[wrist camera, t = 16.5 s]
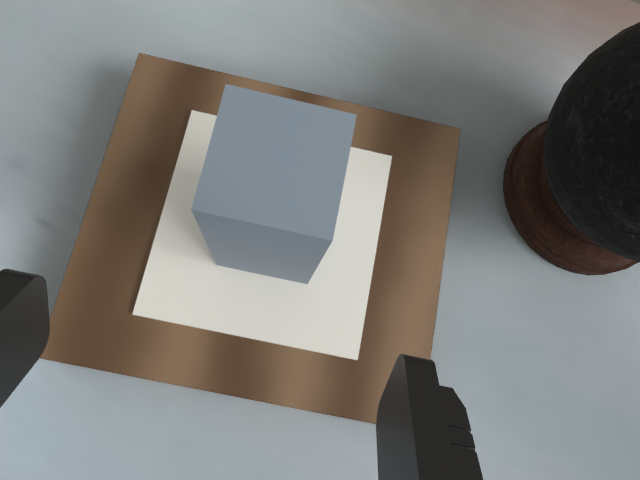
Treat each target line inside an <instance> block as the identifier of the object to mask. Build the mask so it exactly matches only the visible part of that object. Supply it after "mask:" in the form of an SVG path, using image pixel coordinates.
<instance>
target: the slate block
mask: <svg viewBox="0 0 640 480" xmlns="http://www.w3.org/2000/svg"><path fill="white" fill-rule="evenodd" d="M356 117H357V114H352V113H348V112H344V111H340V110H335V109H331V108H327V107H322V106H318V105H314V104H310V103H305V102H301V101H297V100H293V99H288V98H284V97H280V96H275V95H271V94H267V93H263V92H258V91H254V90H250V89H245V88H241V87H237V86H233V85H228V84H226V85H225V88H224V92H223V96H222V99H221V103H220V107H219V110H218V114H217V118H216V121H215V125H214V128H213V132H212V136H211V139H210V143H209V147H208V150H207V154H206V158H205V161H204V165H203V168H202V172H201V176H200V179H199V183H198V187H197V190H196V194H195V198H194V201H193V205H192V208H191V211H192V213H193V215H194V217H195V219H196V221H197V224H198V226H199V228H200V230H201V232H202V234H203V237H204V239H205V241H206V243H207V245H208V247H209V249H210V252H211V254H212V256H213V258H214V260H215V262H216V265H218V266H223V267H228V268H232V269H237V270H242V271H247V272H251V273H256V274H261V275H266V276H270V277H275V278H280V279H284V280H289V281H294V282H299V283H303V284H308V283H309V281H310V279H311V277H312V276H313V274H314V272H315V270H316V269H317V267H318V265H319V263H320V262H321V260H322V258H323V257H324V255H325V253H326V251H327V250H328V248H329V246H330V244H331V243H332V241H333V237H334V231H335V226H336V221H337V216H338V211H339V205H340V200H341V195H342V190H343V185H344V179H345V174H346V169H347V164H348V159H349V153H350V148H351V143H352V138H353V133H354V127H355V122H356Z"/></svg>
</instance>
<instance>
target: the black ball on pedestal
mask: <svg viewBox="0 0 640 480" xmlns="http://www.w3.org/2000/svg"><path fill="white" fill-rule="evenodd" d="M503 191H504V197H505V204H506V207H507V210H508V212H509V215H510V218H511V220H512V222H513V224H514V226H515V227H516V229H517V231H518V233H519V234H520V236H521V237H522V238H523V239H524V240H525V242H526V243H527V244H528V245H529V247H530V248H532V249H533V250H534V251H535V252H536V253H537V254H539V255H540V256H541V257H542V258H543V259H545V260H547V261H548V262H550V263H552V264H553V265H555V266H557V267H559V268H562V269H565V270H567V271H570V272H573V273H578V274H585V275H604V274H608V273H612V272H616V271H620V270H623V269H627V268H629V267H630V266H632V265H634V264H636V263H638V262H640V22H639V23H637V24H635V25H633V26H630V27H628V28H626V29H624V30H622V31H621V32H619V33H618V34H617V35H615V36H614V37H612V38H611V39H610V40H608V41H607V42H606V43H604V44H603V45H602V46H600V47H599V48H598V49H596V50H595V51H594V52H592V53H591V54H590V55H589V56H588V57H587V58H586V59H585V60H584V61H583V63H582V64H581V65H580V66H579V67H578V68H577V70H576V71H575V72H574V73H573V74H572V75H571V77H570V78H569V79H568V80H567V81H566V83H565V84H564V85H563V87H562V89H561V91H560V93H559V95H558V97H557V99H556V101H555V103H554V106H553V108H552V110H551V112H550V114H549V117H548V120H547V121H545V122H543V123H540V124H539V125H537V126H536V127H535V128H533V129H532V130H530V131H529V132H528V133H527V134H526V135H524V136H523V137H522V138H521V140H520V141H519V142H518V143H517V144H516V145H515V147H514V148H513V150H512V152H511V154H510V156H509V158H508V160H507V164H506V167H505V171H504V182H503Z"/></svg>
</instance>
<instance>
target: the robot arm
mask: <svg viewBox="0 0 640 480" xmlns="http://www.w3.org/2000/svg"><path fill="white" fill-rule="evenodd" d="M49 333H50V324H49V310H48V297H47V285H46V280H45V278H44V277H42V276H39V275H34V274H29V273H25V272H20V271H15V270H11V269H4V270H2V271H0V407H1V406H2V405H3V404H4V402H5V401H6V400H7V399H8V397H9V396H10V395H11V393H12V392H13V391H14V390H15V388H16V387H17V386H18V385H19V383H20V382H21V381H22V379H23V378H24V377H25V376H26V374H27V373H28V372H29V370H30V369H31V368H32V367H33V365H34V364H35V363H36V362H37V360H38V359H39V358H40V356H41V355H42V353H43V351H44V349H45V347H46V345H47V342H48V338H49ZM470 431H471V428H470V424H469V420H468V416H467V412H466V408H465V407H464V405H463V404H462V402H461V401H460V399H459V397H458V396H457V394H456V393H455V391H454V390H453V388H449V387H444V386H440V385H439V382H438V377H437V372H436V367H435V363H434V362H433V361H432V360H429V359H424V358H419V357H415V356H410V355H405V354H400V355H399V356H398V357H397V360H396V362H395V364H394V367H393V369H392V372H391V374H390V377H389V379H388V381H387V384H386V386H385V389H384V391H383V394H382V396H381V399H380V402H379V406H378V411H377V419H376V434H377V456H378V479H379V480H483V477H482V473H481V469H480V465H479V461H478V457H477V453H476V452H475V444H474V440H473V436H472V434H471V433H470Z"/></svg>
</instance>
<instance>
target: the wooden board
mask: <svg viewBox="0 0 640 480" xmlns="http://www.w3.org/2000/svg"><path fill="white" fill-rule="evenodd" d="M226 84H228V85H233V86H237V87H241V88H245V89H250V90H254V91H258V92H263V93H267V94H271V95H275V96H280V97H284V98H288V99H293V100H297V101H301V102H305V103H310V104H314V105H318V106H322V107H327V108H331V109H335V110H340V111H344V112H348V113H352V114H357V117H356V122H355V127H354V133H353V138H352V143H351V148H350V153H349V159H348V164H347V169H346V174H345V179H344V185H343V190H342V195H341V200H340V205H339V211H338V216H337V221H336V226H335V231H334V237H333V241H332V243H331V244H330V246H329V248H328V250H327V251H326V253H325V255H324V257H323V258H322V260H321V262H320V263H319V265H318V267H317V269H316V270H315V272H314V274H313V276H312V277H311V279H310V281H309V283H308V284H303V283H299V282H294V281H289V280H284V279H280V278H275V277H270V276H266V275H261V274H256V273H251V272H247V271H242V270H237V269H232V268H228V267H223V266H218V265H216V262H215V260H214V258H213V256H212V254H211V252H210V249H209V247H208V245H207V243H206V241H205V239H204V237H203V234H202V232H201V230H200V228H199V226H198V224H197V221H196V219H195V217H194V215H193V213H192V211H191V208H192V205H193V201H194V198H195V194H196V190H197V187H198V183H199V179H200V176H201V172H202V168H203V165H204V161H205V158H206V154H207V150H208V147H209V143H210V139H211V136H212V132H213V128H214V125H215V121H216V118H217V114H218V110H219V107H220V103H221V99H222V96H223V92H224V88H225V85H226ZM459 137H460V129H459V128H455V127H451V126H447V125H442V124H438V123H434V122H430V121H425V120H421V119H417V118H413V117H408V116H404V115H400V114H396V113H391V112H387V111H383V110H379V109H375V108H370V107H366V106H362V105H358V104H353V103H349V102H345V101H341V100H336V99H332V98H328V97H324V96H319V95H315V94H311V93H307V92H302V91H298V90H294V89H290V88H285V87H281V86H277V85H273V84H269V83H264V82H260V81H256V80H252V79H247V78H243V77H239V76H235V75H230V74H226V73H222V72H218V71H213V70H209V69H205V68H201V67H196V66H192V65H188V64H184V63H180V62H175V61H171V60H167V59H163V58H158V57H154V56H150V55H146V54H141V53H139V54H138V57H137V60H136V63H135V66H134V69H133V72H132V75H131V78H130V81H129V84H128V87H127V90H126V93H125V96H124V99H123V102H122V105H121V108H120V111H119V114H118V117H117V120H116V123H115V126H114V129H113V132H112V135H111V138H110V141H109V144H108V147H107V150H106V153H105V156H104V159H103V162H102V165H101V168H100V171H99V174H98V177H97V180H96V183H95V186H94V189H93V192H92V195H91V198H90V201H89V204H88V207H87V210H86V213H85V216H84V219H83V222H82V225H81V228H80V231H79V234H78V237H77V240H76V243H75V246H74V249H73V252H72V255H71V258H70V261H69V264H68V267H67V270H66V272H65V275H64V278H63V281H62V284H61V287H60V290H59V293H58V296H57V299H56V302H55V305H54V308H53V311H52V314H51V317H50V320H49V324H50V333H49V338H48V342H47V345H46V347H45V349H44V351H43V353H42V355H41V356H40V358H41V359H46V360H51V361H56V362H61V363H67V364H72V365H77V366H82V367H87V368H92V369H97V370H102V371H107V372H113V373H118V374H123V375H128V376H133V377H138V378H143V379H148V380H153V381H159V382H164V383H169V384H174V385H179V386H184V387H189V388H194V389H200V390H205V391H210V392H215V393H220V394H225V395H230V396H235V397H240V398H246V399H251V400H256V401H261V402H266V403H271V404H276V405H281V406H287V407H292V408H297V409H302V410H307V411H312V412H317V413H322V414H327V415H333V416H338V417H343V418H348V419H353V420H358V421H363V422H368V423H373V424H376V419H377V411H378V406H379V402H380V399H381V396H382V394H383V391H384V389H385V386H386V384H387V381H388V379H389V377H390V374H391V372H392V369H393V367H394V364H395V362H396V360H397V357H398V356H399V355H400V354H405V355H410V356H415V357H419V358H424V359H429V360H430V358H431V350H432V343H433V335H434V327H435V320H436V312H437V304H438V297H439V289H440V281H441V274H442V266H443V259H444V251H445V243H446V236H447V228H448V220H449V213H450V205H451V198H452V190H453V182H454V175H455V167H456V159H457V152H458V144H459Z"/></svg>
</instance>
